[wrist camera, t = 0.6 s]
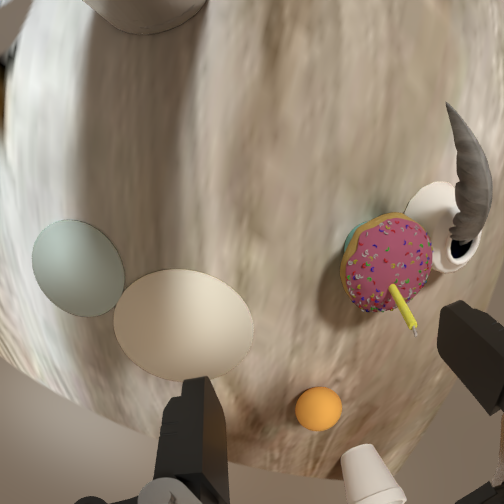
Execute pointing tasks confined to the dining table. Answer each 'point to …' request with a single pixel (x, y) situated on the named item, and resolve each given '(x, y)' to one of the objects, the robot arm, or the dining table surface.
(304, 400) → the ball
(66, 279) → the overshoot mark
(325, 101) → the dining table surface
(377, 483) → the foam cup
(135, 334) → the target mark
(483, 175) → the inkwell
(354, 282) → the cupcake
